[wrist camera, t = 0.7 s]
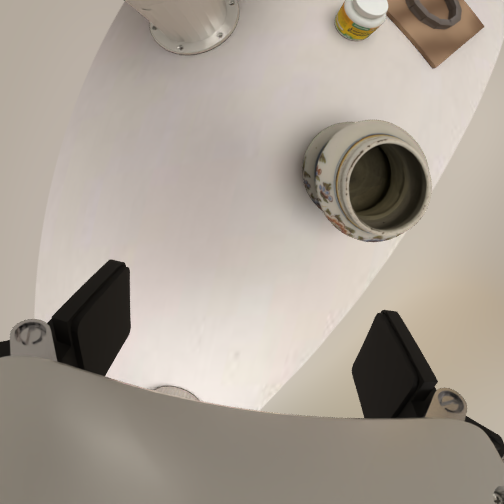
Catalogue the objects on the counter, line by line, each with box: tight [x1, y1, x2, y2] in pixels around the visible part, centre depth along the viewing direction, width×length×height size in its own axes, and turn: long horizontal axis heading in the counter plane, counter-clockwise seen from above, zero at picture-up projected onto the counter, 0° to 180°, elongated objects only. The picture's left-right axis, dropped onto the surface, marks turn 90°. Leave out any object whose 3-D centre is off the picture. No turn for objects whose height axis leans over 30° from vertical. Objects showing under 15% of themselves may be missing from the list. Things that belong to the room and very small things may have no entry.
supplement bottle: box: [335, 0, 388, 41], centre depth 28 cm, size 5×5×10 cm
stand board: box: [386, 0, 484, 68], centre depth 27 cm, size 16×16×4 cm
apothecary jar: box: [302, 120, 432, 242], centre depth 32 cm, size 12×12×18 cm
